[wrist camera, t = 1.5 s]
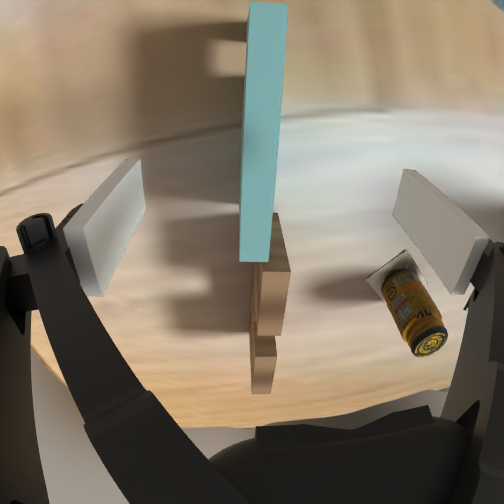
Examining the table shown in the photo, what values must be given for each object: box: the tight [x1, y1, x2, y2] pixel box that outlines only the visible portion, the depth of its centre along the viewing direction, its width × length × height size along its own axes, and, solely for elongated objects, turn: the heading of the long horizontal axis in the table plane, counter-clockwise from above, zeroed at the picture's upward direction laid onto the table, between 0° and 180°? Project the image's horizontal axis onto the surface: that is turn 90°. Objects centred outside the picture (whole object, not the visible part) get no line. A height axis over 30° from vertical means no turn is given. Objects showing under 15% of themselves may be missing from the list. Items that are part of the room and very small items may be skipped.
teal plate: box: [239, 2, 288, 262], centre depth 26 cm, size 20×2×11 cm, turn 177°
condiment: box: [366, 250, 448, 357], centre depth 38 cm, size 7×8×12 cm
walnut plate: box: [249, 213, 291, 394], centre depth 38 cm, size 20×2×11 cm, turn 177°
